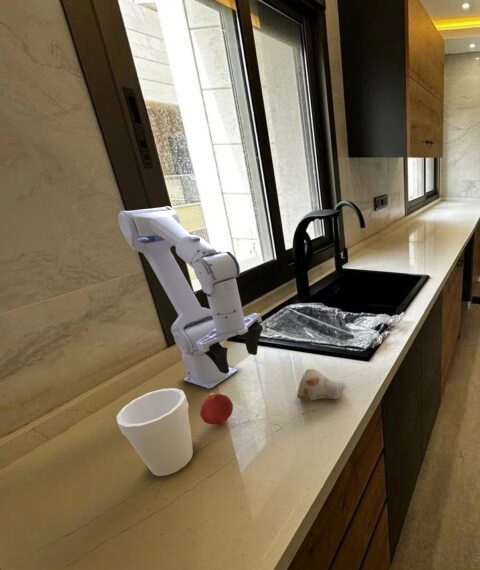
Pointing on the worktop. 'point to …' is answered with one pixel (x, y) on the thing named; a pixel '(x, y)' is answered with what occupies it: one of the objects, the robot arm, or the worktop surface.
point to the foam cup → (159, 429)
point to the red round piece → (216, 409)
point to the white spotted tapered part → (317, 386)
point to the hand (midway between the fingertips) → (239, 362)
